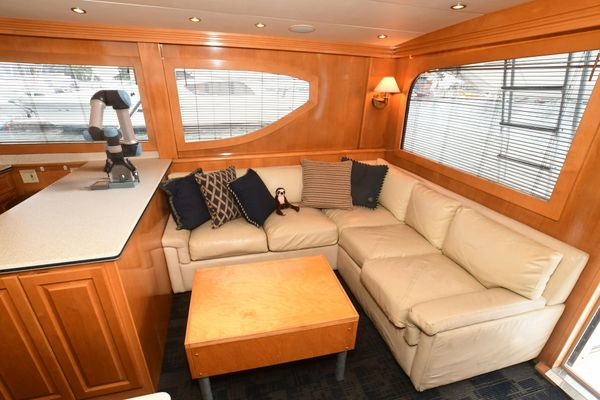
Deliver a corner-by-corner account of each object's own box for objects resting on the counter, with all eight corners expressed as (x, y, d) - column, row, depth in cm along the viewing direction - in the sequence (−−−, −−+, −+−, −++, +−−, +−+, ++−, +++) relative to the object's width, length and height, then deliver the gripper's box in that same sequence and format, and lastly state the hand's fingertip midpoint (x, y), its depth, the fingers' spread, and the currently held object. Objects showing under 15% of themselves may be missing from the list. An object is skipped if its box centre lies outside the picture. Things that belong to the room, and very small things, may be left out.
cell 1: (121, 184, 197) (118, 172, 193) (127, 183, 198) (125, 172, 194) (119, 186, 193) (116, 174, 190) (126, 185, 194) (123, 174, 191)
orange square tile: (98, 183, 194) (98, 181, 194) (109, 182, 196) (109, 181, 195) (94, 186, 188) (94, 184, 188) (105, 185, 190) (105, 184, 189)
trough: (113, 185, 198) (112, 180, 196) (138, 183, 201) (137, 179, 200) (109, 188, 190) (108, 184, 189) (134, 187, 194) (133, 182, 193)
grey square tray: (98, 185, 196) (96, 181, 195) (113, 184, 198) (112, 180, 197) (91, 190, 187) (90, 185, 186) (108, 189, 189) (106, 184, 188)
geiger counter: (136, 161, 208) (106, 159, 210) (131, 163, 202) (99, 161, 204) (140, 178, 213) (110, 177, 215) (135, 180, 207) (104, 179, 209)
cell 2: (134, 181, 206) (132, 170, 202) (140, 181, 207) (138, 170, 203) (133, 183, 202) (130, 172, 199) (139, 182, 203) (136, 171, 200)
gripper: (92, 153, 180) (101, 183, 188) (134, 151, 186) (140, 181, 194) (97, 151, 187) (105, 180, 195) (137, 149, 192) (143, 178, 200)
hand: (123, 180), depth 194 cm, fingers open, 13 cm apart
